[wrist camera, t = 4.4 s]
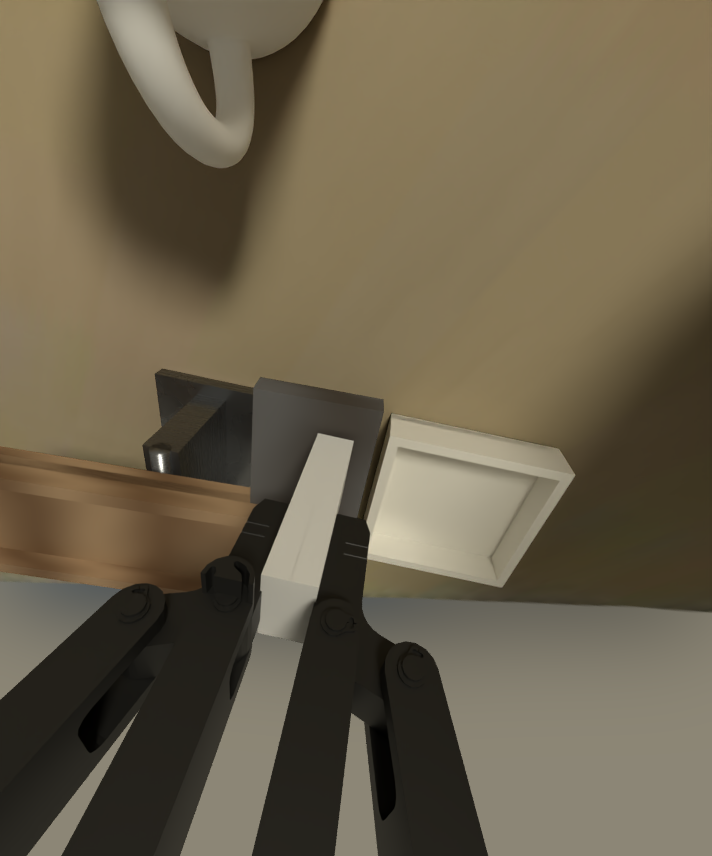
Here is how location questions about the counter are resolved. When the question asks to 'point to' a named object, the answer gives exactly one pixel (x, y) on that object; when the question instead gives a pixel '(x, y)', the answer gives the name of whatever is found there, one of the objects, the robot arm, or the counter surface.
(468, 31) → the counter surface
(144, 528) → the plank
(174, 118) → the mug
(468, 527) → the dish
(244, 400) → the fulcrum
